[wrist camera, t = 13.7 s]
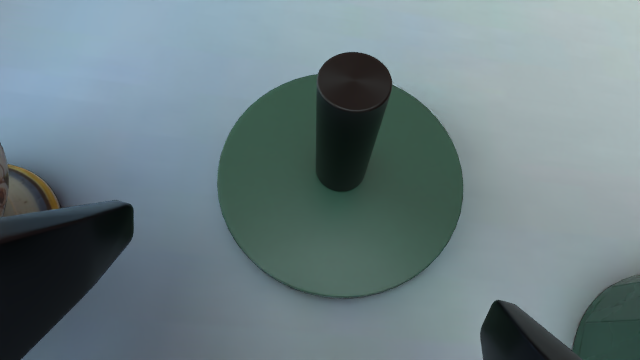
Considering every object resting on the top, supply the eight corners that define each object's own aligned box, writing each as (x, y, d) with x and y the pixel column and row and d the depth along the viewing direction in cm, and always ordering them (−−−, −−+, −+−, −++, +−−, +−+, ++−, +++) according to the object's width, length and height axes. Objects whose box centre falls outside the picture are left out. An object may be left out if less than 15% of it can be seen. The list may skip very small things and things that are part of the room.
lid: (442, 331, 16) (548, 328, 9) (184, 261, 17) (88, 207, 10) (465, 109, 21) (545, -11, 14) (264, 66, 22) (240, -66, 15)
